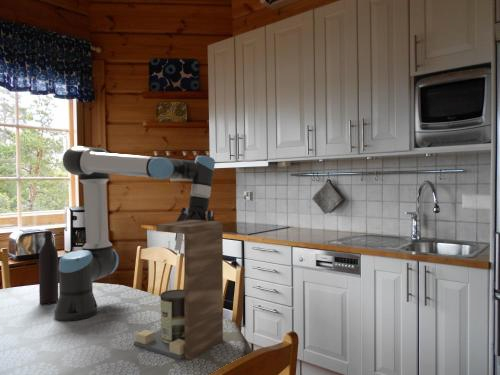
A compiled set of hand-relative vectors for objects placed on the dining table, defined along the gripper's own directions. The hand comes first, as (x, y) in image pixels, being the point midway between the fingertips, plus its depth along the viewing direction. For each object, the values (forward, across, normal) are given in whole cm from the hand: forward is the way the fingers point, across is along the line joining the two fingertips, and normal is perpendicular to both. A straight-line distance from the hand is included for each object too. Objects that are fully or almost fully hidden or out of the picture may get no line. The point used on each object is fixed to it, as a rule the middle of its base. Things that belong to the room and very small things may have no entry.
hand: (191, 252), depth 148 cm
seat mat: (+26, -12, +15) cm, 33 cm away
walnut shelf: (+26, -18, +15) cm, 35 cm away
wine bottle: (+30, +60, +14) cm, 69 cm away
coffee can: (+26, -12, +15) cm, 32 cm away
